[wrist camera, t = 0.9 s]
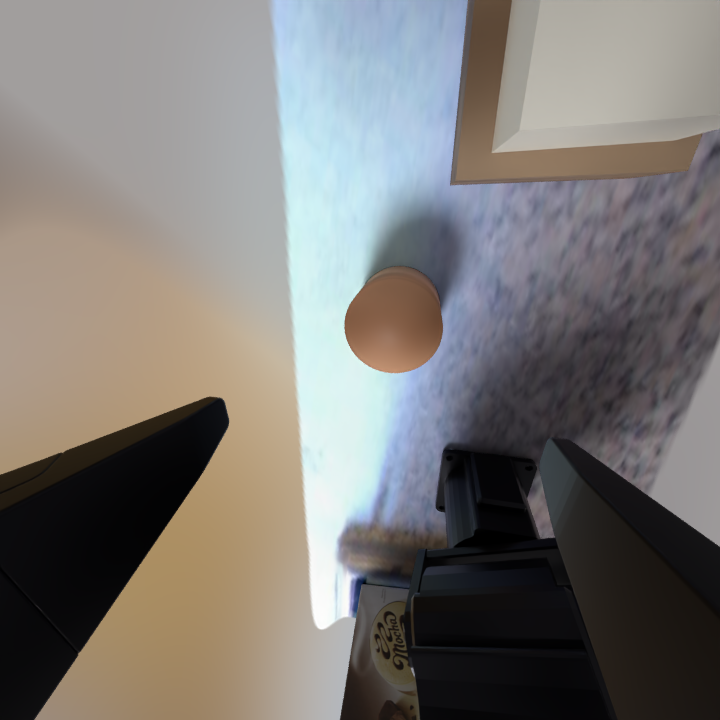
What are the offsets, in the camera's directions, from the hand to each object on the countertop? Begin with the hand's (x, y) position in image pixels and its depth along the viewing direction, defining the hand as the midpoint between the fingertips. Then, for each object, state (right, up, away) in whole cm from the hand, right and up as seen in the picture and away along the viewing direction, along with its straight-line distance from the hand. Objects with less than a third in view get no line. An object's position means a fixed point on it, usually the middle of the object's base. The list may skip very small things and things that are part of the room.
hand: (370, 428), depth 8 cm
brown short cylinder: (+2, +5, +11) cm, 12 cm away
